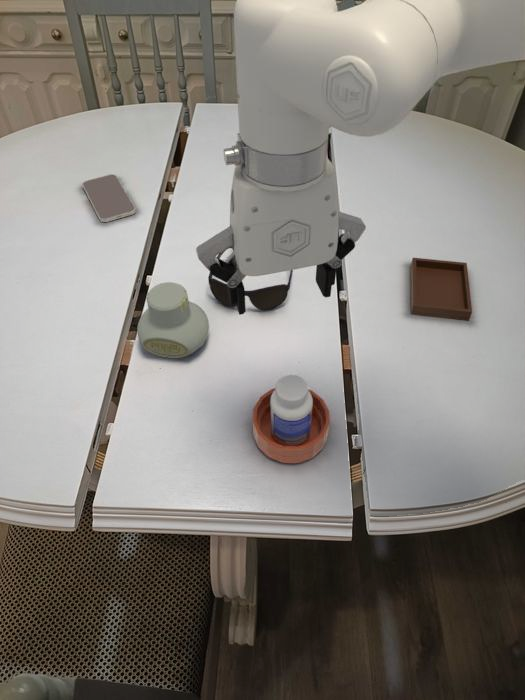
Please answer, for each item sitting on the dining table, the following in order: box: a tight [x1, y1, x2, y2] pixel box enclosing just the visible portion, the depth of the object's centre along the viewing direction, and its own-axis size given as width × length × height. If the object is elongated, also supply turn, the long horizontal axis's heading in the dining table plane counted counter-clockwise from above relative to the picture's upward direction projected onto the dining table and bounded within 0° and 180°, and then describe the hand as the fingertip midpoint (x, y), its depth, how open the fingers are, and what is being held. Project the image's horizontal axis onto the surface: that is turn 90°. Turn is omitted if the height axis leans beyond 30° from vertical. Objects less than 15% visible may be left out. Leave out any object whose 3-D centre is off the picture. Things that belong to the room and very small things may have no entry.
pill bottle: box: [270, 374, 313, 446], centre depth 69 cm, size 5×5×10 cm
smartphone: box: [82, 173, 137, 223], centre depth 109 cm, size 7×1×15 cm
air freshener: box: [136, 281, 210, 359], centre depth 80 cm, size 11×8×10 cm
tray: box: [410, 257, 473, 322], centre depth 90 cm, size 12×9×2 cm
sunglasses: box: [207, 246, 294, 311], centre depth 91 cm, size 14×16×5 cm
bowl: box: [252, 387, 331, 464], centre depth 71 cm, size 10×10×4 cm
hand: (281, 297), depth 59 cm, fingers open, 9 cm apart
